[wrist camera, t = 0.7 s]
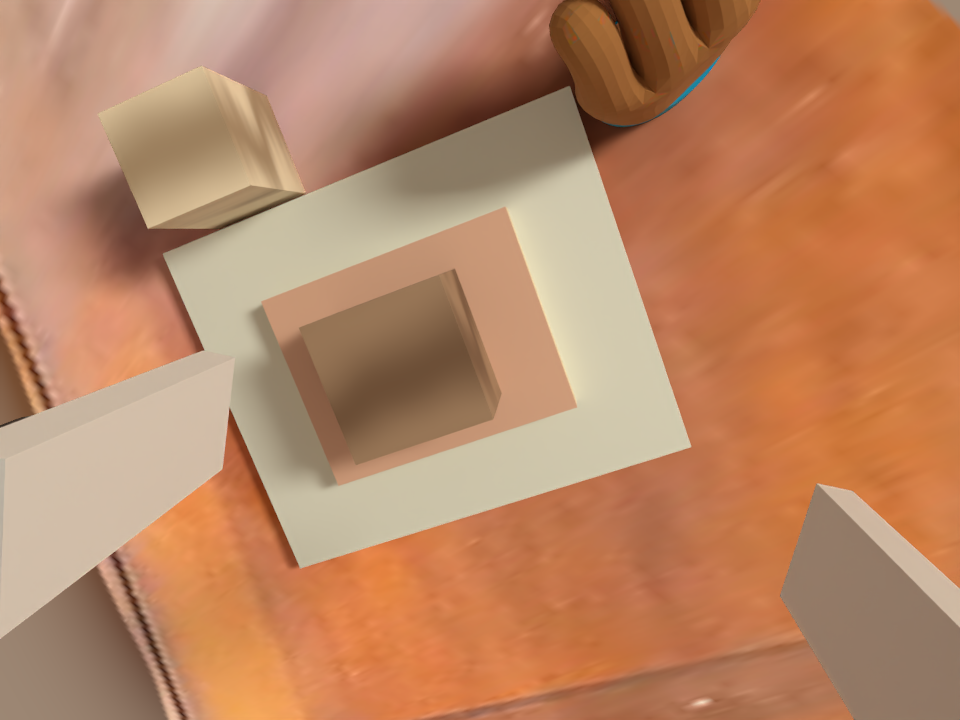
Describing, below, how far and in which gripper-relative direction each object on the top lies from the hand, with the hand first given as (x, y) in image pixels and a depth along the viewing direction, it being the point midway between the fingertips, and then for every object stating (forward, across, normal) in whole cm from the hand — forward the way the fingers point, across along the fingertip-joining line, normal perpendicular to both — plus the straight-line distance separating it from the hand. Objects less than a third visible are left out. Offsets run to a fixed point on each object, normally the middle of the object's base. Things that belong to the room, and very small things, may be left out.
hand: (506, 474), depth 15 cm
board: (+23, -6, -3) cm, 24 cm away
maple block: (+23, -18, +5) cm, 30 cm away
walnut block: (+20, -6, -3) cm, 21 cm away
